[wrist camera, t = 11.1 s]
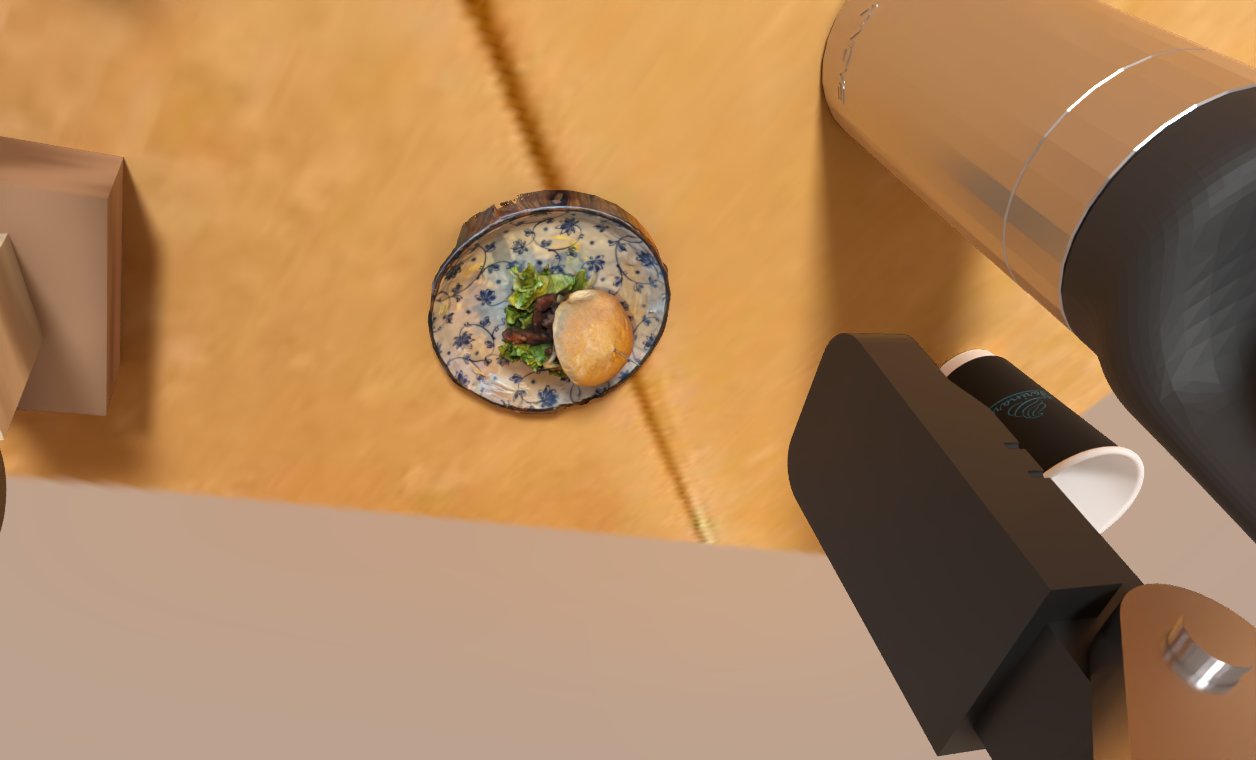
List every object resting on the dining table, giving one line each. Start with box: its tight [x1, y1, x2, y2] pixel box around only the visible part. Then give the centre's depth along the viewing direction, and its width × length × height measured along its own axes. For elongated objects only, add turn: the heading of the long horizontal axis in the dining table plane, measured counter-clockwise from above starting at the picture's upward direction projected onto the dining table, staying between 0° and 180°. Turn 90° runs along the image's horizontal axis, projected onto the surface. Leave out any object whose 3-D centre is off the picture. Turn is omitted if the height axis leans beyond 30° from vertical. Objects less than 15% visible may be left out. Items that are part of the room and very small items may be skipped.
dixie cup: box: [940, 349, 1144, 534], centre depth 52 cm, size 8×8×11 cm
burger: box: [428, 190, 671, 414], centre depth 41 cm, size 12×12×8 cm
